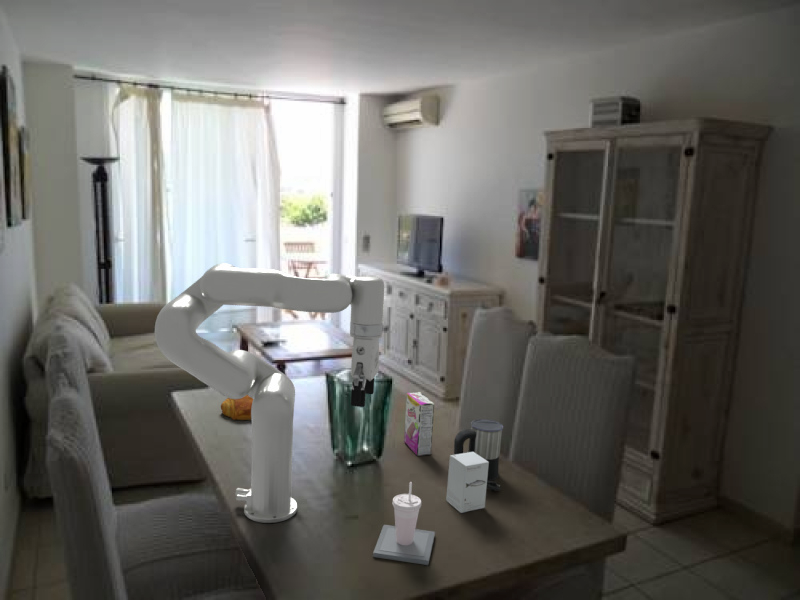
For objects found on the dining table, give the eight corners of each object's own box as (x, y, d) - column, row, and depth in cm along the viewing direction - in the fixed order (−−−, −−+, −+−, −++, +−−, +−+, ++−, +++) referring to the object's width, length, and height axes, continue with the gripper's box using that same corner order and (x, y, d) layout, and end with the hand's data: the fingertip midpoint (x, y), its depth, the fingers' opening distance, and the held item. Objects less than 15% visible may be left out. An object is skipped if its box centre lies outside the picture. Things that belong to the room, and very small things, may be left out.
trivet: (372, 556, 136) (373, 552, 136) (383, 528, 148) (383, 524, 148) (428, 565, 134) (428, 560, 134) (434, 535, 146) (434, 531, 146)
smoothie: (416, 550, 138) (420, 490, 135) (387, 545, 139) (390, 486, 137) (421, 535, 144) (425, 477, 142) (393, 531, 145) (397, 473, 143)
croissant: (222, 413, 222) (218, 392, 220) (267, 406, 226) (264, 384, 224) (222, 428, 208) (219, 404, 206) (270, 419, 212) (267, 396, 211)
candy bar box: (402, 442, 200) (405, 392, 197) (417, 440, 202) (420, 391, 199) (416, 456, 190) (420, 404, 187) (431, 455, 191) (435, 403, 189)
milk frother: (483, 464, 187) (487, 416, 184) (523, 486, 174) (528, 434, 172) (446, 475, 178) (450, 425, 176) (485, 498, 166) (490, 444, 163)
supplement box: (461, 514, 157) (464, 466, 155) (445, 500, 163) (448, 454, 161) (485, 508, 160) (489, 461, 158) (469, 495, 167) (473, 450, 165)
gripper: (374, 339, 139) (370, 413, 142) (388, 323, 156) (384, 390, 159) (341, 335, 141) (337, 409, 143) (358, 321, 157) (355, 387, 160)
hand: (362, 399), depth 151 cm, fingers open, 9 cm apart
